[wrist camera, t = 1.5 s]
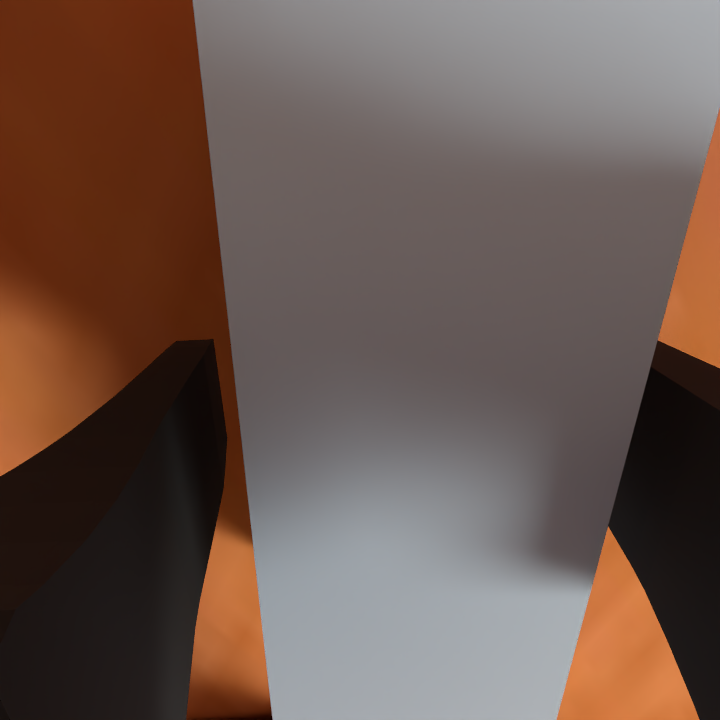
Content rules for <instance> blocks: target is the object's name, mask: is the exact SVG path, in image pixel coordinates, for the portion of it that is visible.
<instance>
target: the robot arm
mask: <svg viewBox="0 0 720 720" xmlns="http://www.w3.org/2000/svg"><path fill="white" fill-rule="evenodd" d="M226 448H227V433H226V426H225V419H224V412H223V405H222V398H221V390H220V383H219V376H218V369H217V362H216V355H215V348H214V340H213V339H209V340H188V341H176V342H175V343H174V344H172V345H171V346H170V347H169V348H168V349H166V350H165V351H164V352H163V353H162V354H161V355H160V356H159V357H158V358H157V359H155V360H154V361H153V362H152V363H151V364H150V365H149V366H148V367H147V368H146V369H145V370H144V371H142V372H141V373H140V374H139V375H138V376H137V377H136V378H135V379H133V380H132V381H131V382H130V383H129V384H128V385H127V386H126V387H124V388H123V389H122V390H121V391H120V392H119V393H118V394H117V395H115V396H114V397H113V398H112V399H110V400H109V401H108V402H107V403H105V404H104V405H103V406H102V407H100V408H99V409H98V410H97V411H95V412H94V413H93V414H92V415H90V416H89V417H88V418H86V419H85V420H84V421H83V422H81V423H80V424H79V425H78V426H76V427H75V428H74V429H73V430H71V431H70V432H68V433H67V434H66V435H64V436H63V437H62V438H60V439H59V440H57V441H56V442H54V443H53V444H51V445H50V446H48V447H47V448H45V449H44V450H42V451H41V452H39V453H38V454H36V455H35V456H33V457H31V458H30V459H28V460H27V461H25V462H24V463H22V464H20V465H19V466H17V467H16V468H14V469H12V470H11V471H9V472H7V473H6V474H4V475H2V476H0V720H186V715H187V704H188V693H189V683H190V673H191V664H192V654H193V645H194V635H195V626H196V620H197V614H198V608H199V602H200V597H201V592H202V588H203V583H204V578H205V574H206V569H207V564H208V559H209V555H210V550H211V545H212V541H213V536H214V531H215V527H216V522H217V517H218V512H219V507H220V503H221V498H222V493H223V488H224V476H225V463H226ZM608 526H609V528H610V530H611V532H612V533H613V535H614V537H615V538H616V540H617V542H618V543H619V545H620V547H621V549H622V550H623V552H624V554H625V555H626V557H627V559H628V560H629V562H630V564H631V565H632V567H633V569H634V571H635V573H636V575H637V577H638V579H639V580H640V582H641V584H642V586H643V588H644V590H645V592H646V594H647V596H648V599H649V601H650V603H651V605H652V608H653V610H654V612H655V614H656V616H657V619H658V621H659V623H660V625H661V628H662V630H663V632H664V634H665V637H666V639H667V641H668V643H669V646H670V648H671V650H672V653H673V655H674V658H675V660H676V662H677V665H678V667H679V670H680V672H681V675H682V677H683V679H684V682H685V684H686V687H687V689H688V691H689V694H690V696H691V699H692V701H693V704H694V706H695V709H696V711H697V714H698V717H699V719H700V720H720V368H717V367H715V366H713V365H711V364H708V363H706V362H704V361H702V360H699V359H697V358H695V357H693V356H691V355H688V354H686V353H684V352H682V351H680V350H677V349H675V348H673V347H671V346H669V345H667V344H664V343H662V342H660V341H658V340H657V344H656V348H655V352H654V355H653V359H652V363H651V367H650V370H649V374H648V378H647V382H646V385H645V389H644V393H643V397H642V400H641V404H640V408H639V412H638V415H637V419H636V423H635V427H634V430H633V434H632V438H631V442H630V445H629V449H628V453H627V457H626V460H625V464H624V468H623V472H622V475H621V479H620V483H619V487H618V490H617V494H616V498H615V501H614V505H613V509H612V513H611V516H610V520H609V524H608Z"/></svg>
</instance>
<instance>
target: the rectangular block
mask: <svg viewBox="0 0 720 720" xmlns="http://www.w3.org/2000/svg"><path fill="white" fill-rule="evenodd" d="M193 8H194V17H195V26H196V35H197V44H198V53H199V62H200V71H201V80H202V89H203V98H204V107H205V116H206V125H207V134H208V143H209V152H210V161H211V170H212V179H213V188H214V197H215V206H216V215H217V224H218V233H219V242H220V251H221V260H222V269H223V278H224V287H225V296H226V305H227V314H228V323H229V332H230V341H231V350H232V359H233V368H234V377H235V386H236V395H237V404H238V413H239V422H240V431H241V440H242V449H243V458H244V467H245V476H246V485H247V494H248V503H249V512H250V521H251V530H252V539H253V548H254V557H255V566H256V575H257V584H258V593H259V602H260V611H261V620H262V629H263V638H264V647H265V656H266V665H267V674H268V683H269V692H270V701H271V710H272V719H273V720H556V719H557V715H558V711H559V708H560V704H561V700H562V696H563V693H564V689H565V685H566V681H567V678H568V674H569V670H570V666H571V663H572V659H573V655H574V651H575V648H576V644H577V640H578V636H579V633H580V629H581V625H582V621H583V618H584V614H585V610H586V606H587V603H588V599H589V595H590V591H591V588H592V584H593V580H594V576H595V573H596V569H597V565H598V561H599V558H600V554H601V550H602V546H603V543H604V539H605V535H606V531H607V528H608V524H609V520H610V516H611V513H612V509H613V505H614V501H615V498H616V494H617V490H618V487H619V483H620V479H621V475H622V472H623V468H624V464H625V460H626V457H627V453H628V449H629V445H630V442H631V438H632V434H633V430H634V427H635V423H636V419H637V415H638V412H639V408H640V404H641V400H642V397H643V393H644V389H645V385H646V382H647V378H648V374H649V370H650V367H651V363H652V359H653V355H654V352H655V348H656V344H657V340H658V337H659V333H660V329H661V325H662V322H663V318H664V314H665V310H666V307H667V303H668V299H669V295H670V292H671V288H672V284H673V280H674V277H675V273H676V269H677V265H678V262H679V258H680V254H681V250H682V247H683V243H684V239H685V235H686V232H687V228H688V224H689V220H690V217H691V213H692V209H693V205H694V202H695V198H696V194H697V190H698V187H699V183H700V179H701V175H702V172H703V168H704V164H705V160H706V157H707V153H708V149H709V145H710V142H711V138H712V134H713V130H714V127H715V123H716V119H717V115H718V112H719V108H720V0H193Z"/></svg>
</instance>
